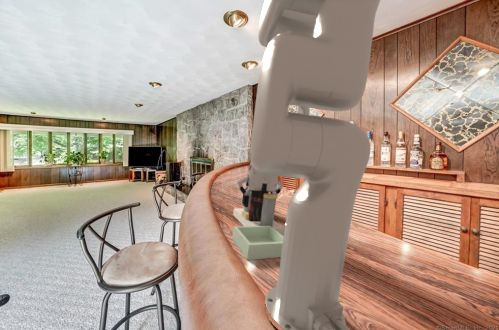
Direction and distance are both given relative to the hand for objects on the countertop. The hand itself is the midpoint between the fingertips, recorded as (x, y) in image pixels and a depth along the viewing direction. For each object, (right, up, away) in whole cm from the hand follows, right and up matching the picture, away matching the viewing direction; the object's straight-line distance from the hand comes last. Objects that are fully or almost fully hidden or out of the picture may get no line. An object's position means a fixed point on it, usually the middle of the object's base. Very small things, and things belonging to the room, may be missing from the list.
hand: (258, 206), depth 75 cm
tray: (0, -8, -17) cm, 19 cm away
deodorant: (-1, -7, 0) cm, 7 cm away
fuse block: (-1, -6, 0) cm, 6 cm away
